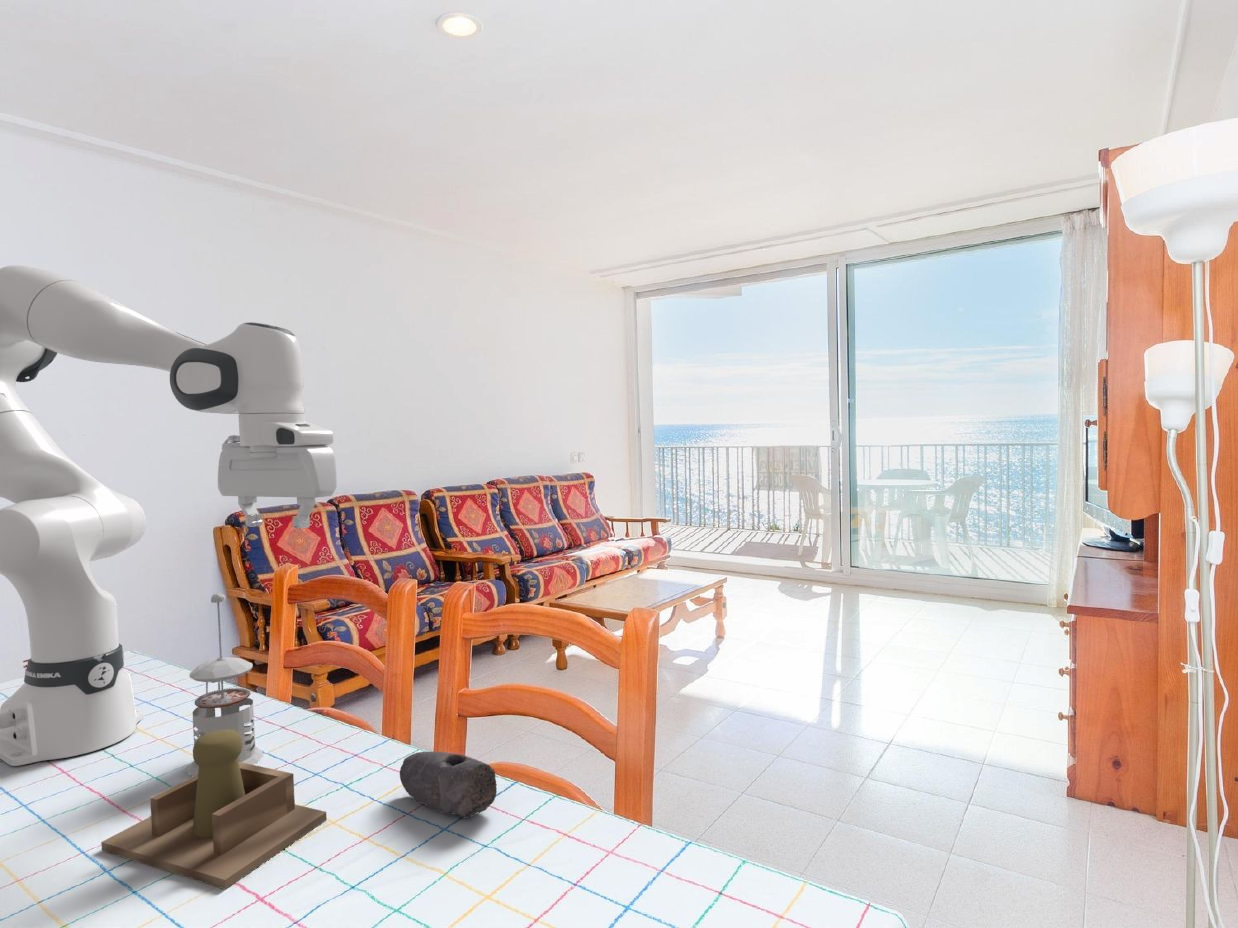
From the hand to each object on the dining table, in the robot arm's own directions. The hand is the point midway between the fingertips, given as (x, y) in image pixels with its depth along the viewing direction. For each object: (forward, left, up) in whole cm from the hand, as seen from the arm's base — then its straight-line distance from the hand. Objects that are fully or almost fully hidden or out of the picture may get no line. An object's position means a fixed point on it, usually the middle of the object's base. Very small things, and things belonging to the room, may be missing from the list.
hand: (277, 527), depth 104 cm
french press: (-7, -5, -34) cm, 35 cm away
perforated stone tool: (+32, -5, -34) cm, 47 cm away
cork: (+10, -19, -33) cm, 39 cm away
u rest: (+10, -19, -34) cm, 40 cm away
